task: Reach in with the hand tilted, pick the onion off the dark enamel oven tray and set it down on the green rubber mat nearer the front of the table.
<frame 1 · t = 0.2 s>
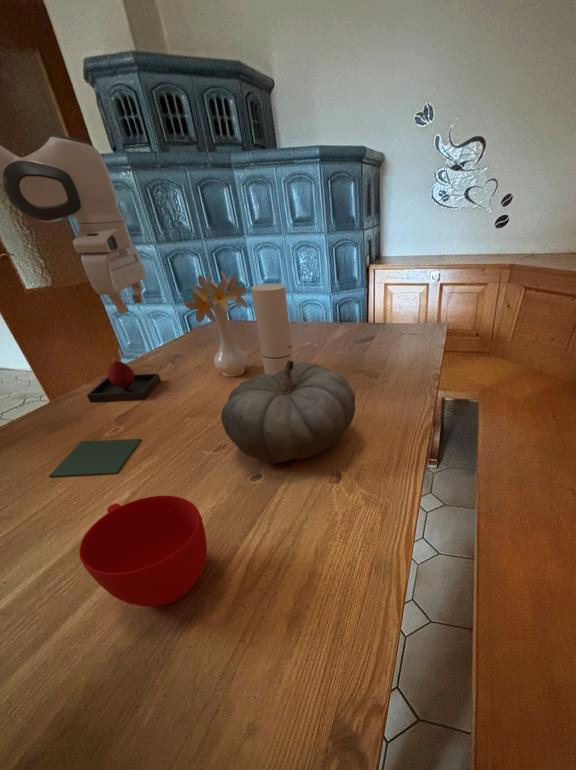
hand: (132, 307, 90), 20 cm above the table, tool pointing down, fingers open, 8 cm apart
mat: (98, 457, 75), on the table
onion: (127, 389, 100), resting on oven tray
oven tray: (127, 390, 100), on the table
cylindrical container: (283, 396, 97), on the table
gourd: (293, 445, 78), on the table
ceramic cup: (162, 577, 52), on the table
flower vase: (234, 374, 109), on the table
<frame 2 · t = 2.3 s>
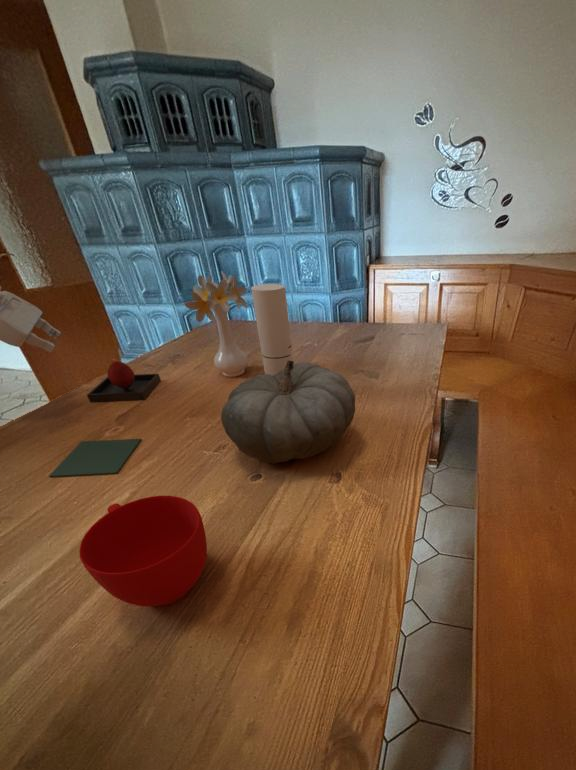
hand: (56, 342, 88), 14 cm above the table, tool tilted 40°, fingers open, 8 cm apart
nothing on the table moved.
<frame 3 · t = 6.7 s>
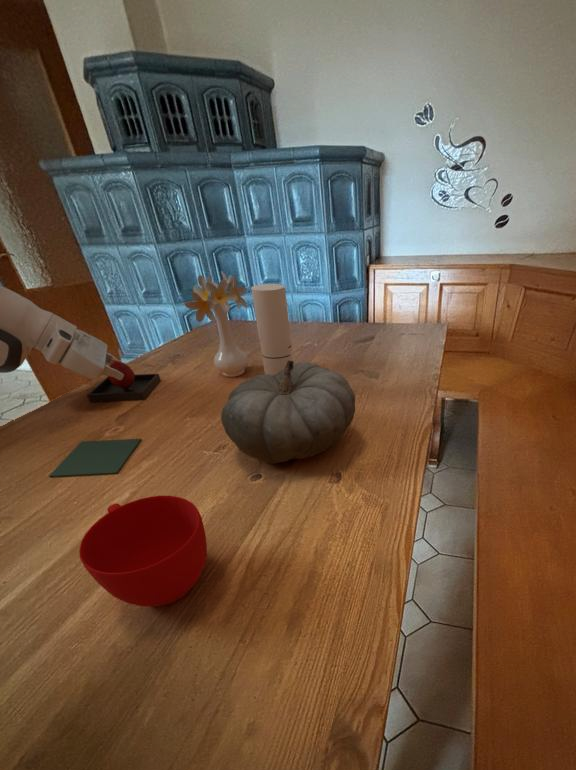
hand: (123, 372, 97), 5 cm above the table, tool tilted 45°, fingers closed on onion, 6 cm apart
onion: (127, 389, 100), resting on oven tray, touching gripper
everything else where it was.
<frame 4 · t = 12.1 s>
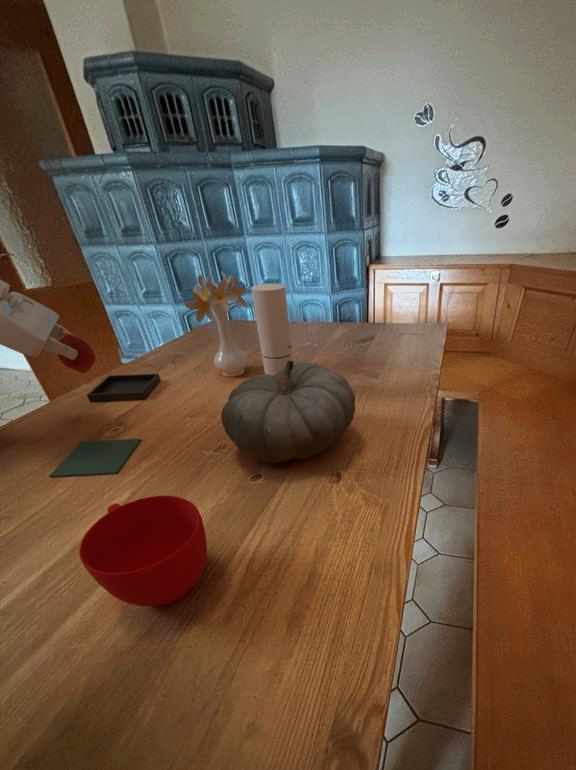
hand: (78, 350, 73), 17 cm above the table, tool tilted 45°, fingers closed on onion, 6 cm apart
onion: (85, 373, 76), point 13 cm above the table, touching gripper
everything else where it was.
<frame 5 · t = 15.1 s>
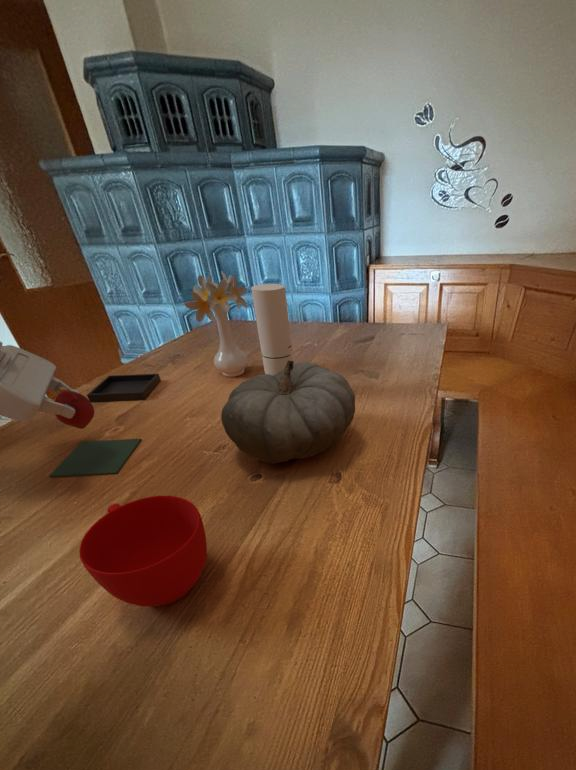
hand: (76, 405, 69), 11 cm above the table, tool tilted 45°, fingers closed on onion, 6 cm apart
onion: (83, 428, 71), point 6 cm above the table, touching gripper
everything else where it was.
when the fingers open (5 cm above the table, at t = 17.4 s): onion stays where it is, resting on mat.
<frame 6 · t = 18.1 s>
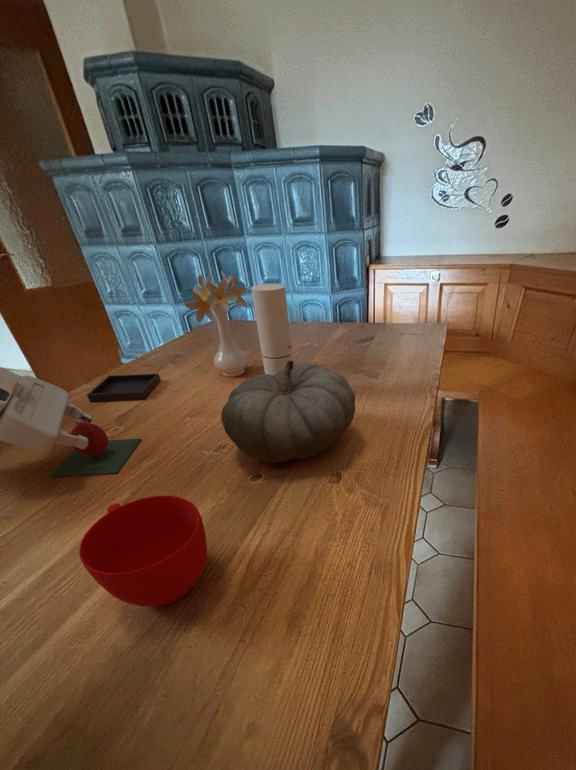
hand: (89, 432, 72), 6 cm above the table, tool tilted 45°, fingers open, 8 cm apart
onion: (98, 457, 75), resting on mat
everything else where it was.
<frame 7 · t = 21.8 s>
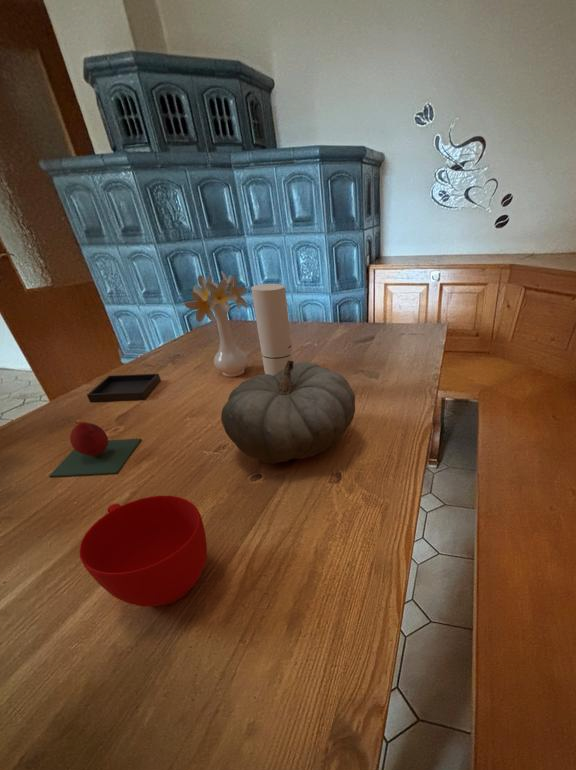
nothing on the table moved.
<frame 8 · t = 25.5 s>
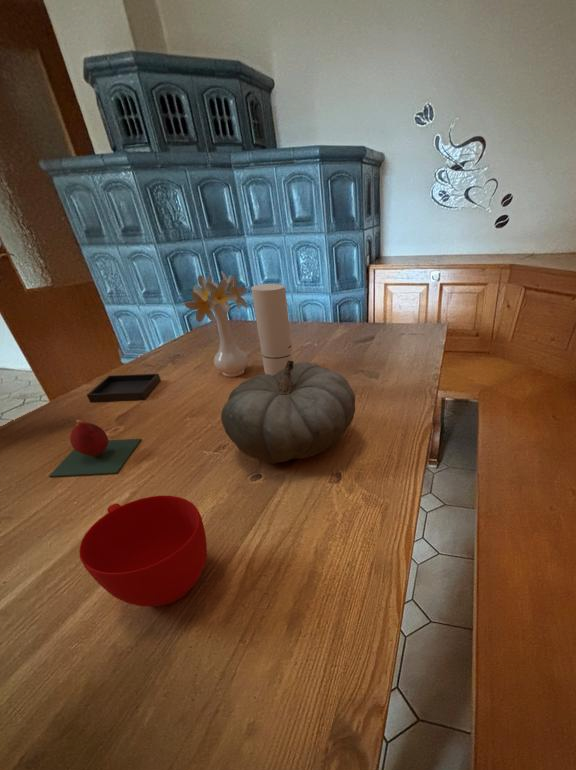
nothing on the table moved.
at the end: onion inside the target area on the mat (0.1 cm from its centre), point 0.2 cm above the mat's base; the gripper is holding nothing; onion moved 32.8 cm from its start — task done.
